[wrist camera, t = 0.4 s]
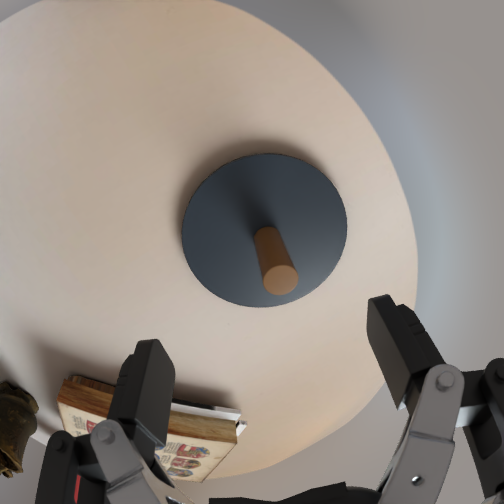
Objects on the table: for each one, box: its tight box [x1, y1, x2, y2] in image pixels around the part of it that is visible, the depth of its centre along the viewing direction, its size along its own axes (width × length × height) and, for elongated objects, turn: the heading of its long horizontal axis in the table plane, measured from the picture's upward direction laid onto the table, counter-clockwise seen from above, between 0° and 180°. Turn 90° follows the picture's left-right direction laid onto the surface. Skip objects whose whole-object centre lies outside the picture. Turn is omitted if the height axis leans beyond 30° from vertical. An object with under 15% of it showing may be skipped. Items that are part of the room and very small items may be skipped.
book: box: [56, 375, 247, 482], centre depth 39 cm, size 25×6×28 cm
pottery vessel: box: [0, 381, 39, 478], centre depth 31 cm, size 25×11×20 cm, turn 133°
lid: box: [182, 153, 347, 307], centre depth 25 cm, size 16×16×8 cm
